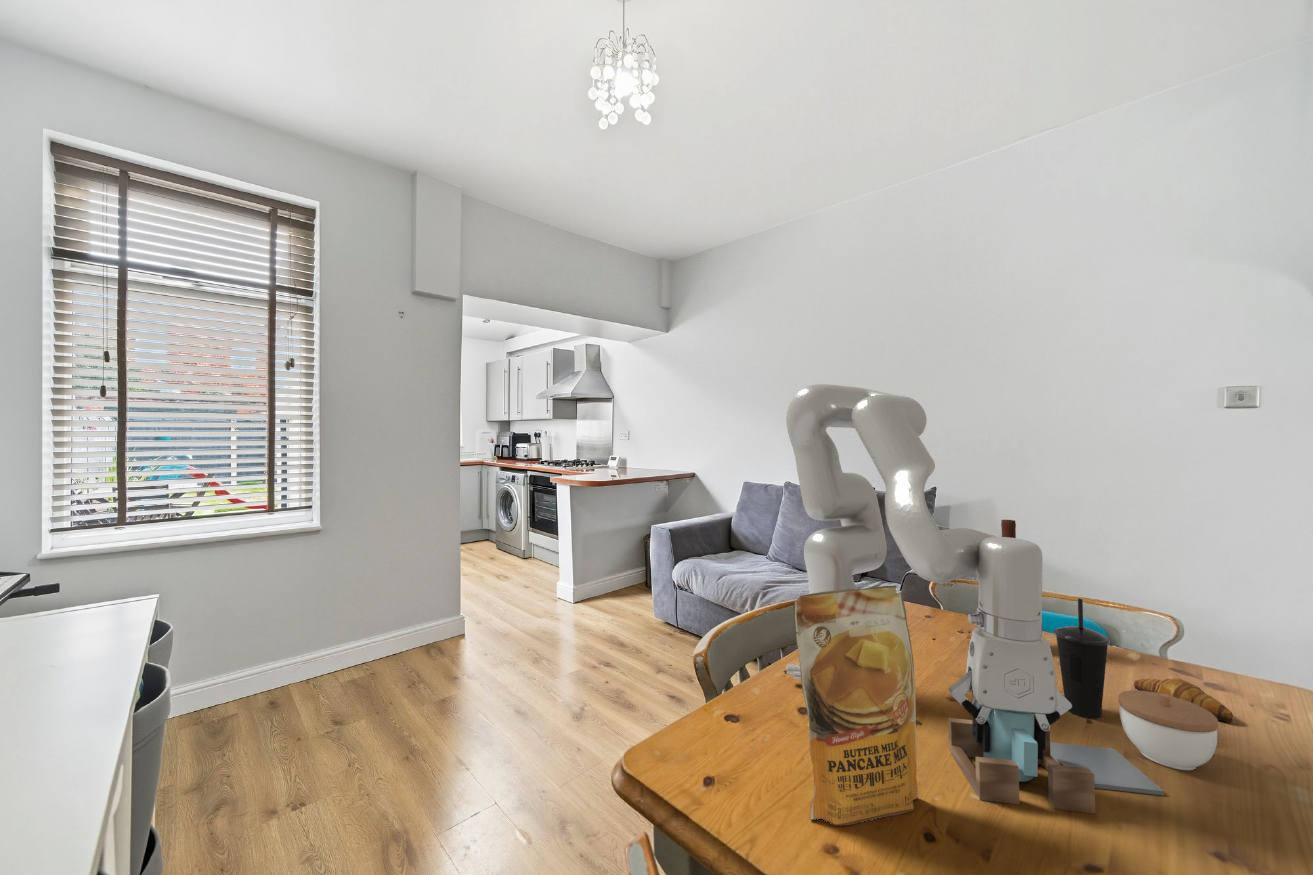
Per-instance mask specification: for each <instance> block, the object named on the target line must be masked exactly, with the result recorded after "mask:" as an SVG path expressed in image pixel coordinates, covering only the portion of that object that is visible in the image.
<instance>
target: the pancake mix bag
mask: <svg viewBox="0 0 1313 875" xmlns="http://www.w3.org/2000/svg"><path fill="white" fill-rule="evenodd" d="M904 601H905V600H904V596H903V592H902V590H898V591H897V586H896V585H882V586H874V587H873V586H872V587H866V588H857V589H843V590H835V591H828V592H819V593H813V594H808V593H807V594H803V595H800V596H799V597H798V598H797V599H796V600H794V602H793V622H794V634H795V635H794V636H795V641H796V646H797V651H798V660H799V661H798V662H799V665H800V672H801V679H800V680H801V681H800V682H801V688H802V692H803V699H804V702H805V706H806V712H807V713H806V714H807V717H808V737H809V740H808V741H809V754H810V759H811V763H812V764H811V765H812V773H813V785H814V788H813V789H814V790H813V797H812V799H811V807H810V814H809V821H810V820H813V821H814V820H816V819H817V820H818V819H823V820H825V821H826V823H827V822H829V823H831V824H830V825H832V824H833V825H832V826H835V827H836V826H848V825H849V826H850V825H854V824H859V823H858V822H860V823H865V822H864V821H866V822H868V821H867V820H870V821H874V819H875V820H878V819H877V818H879V819H881V818H882V817H883V818H885V817H893V816H898V815H902V814H907V813H909V812H912V811H914V810H915V807H914V801H915V800H917V799H918V798H920V794H919V789H918V783H917V782H918V781H917V772H918V771H917V770H918V762H917V761H918V757H917V748H918V744H917V730H916V729H917V728H916V726H917V724H916V722H917V721H916V719H917V717H916V716H917V714H916V710H917V707H916V705H917V704H916V682H915V680H916V679H915V664H914V654H913V648H912V642H911V641H912V640H911V635H910V630H909V626H908V618H907V610H906V606H905V602H904ZM817 820H816V821H817ZM823 820H822V821H823ZM818 821H819V820H818ZM825 821H824V822H825ZM829 823H828V824H829Z"/></svg>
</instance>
